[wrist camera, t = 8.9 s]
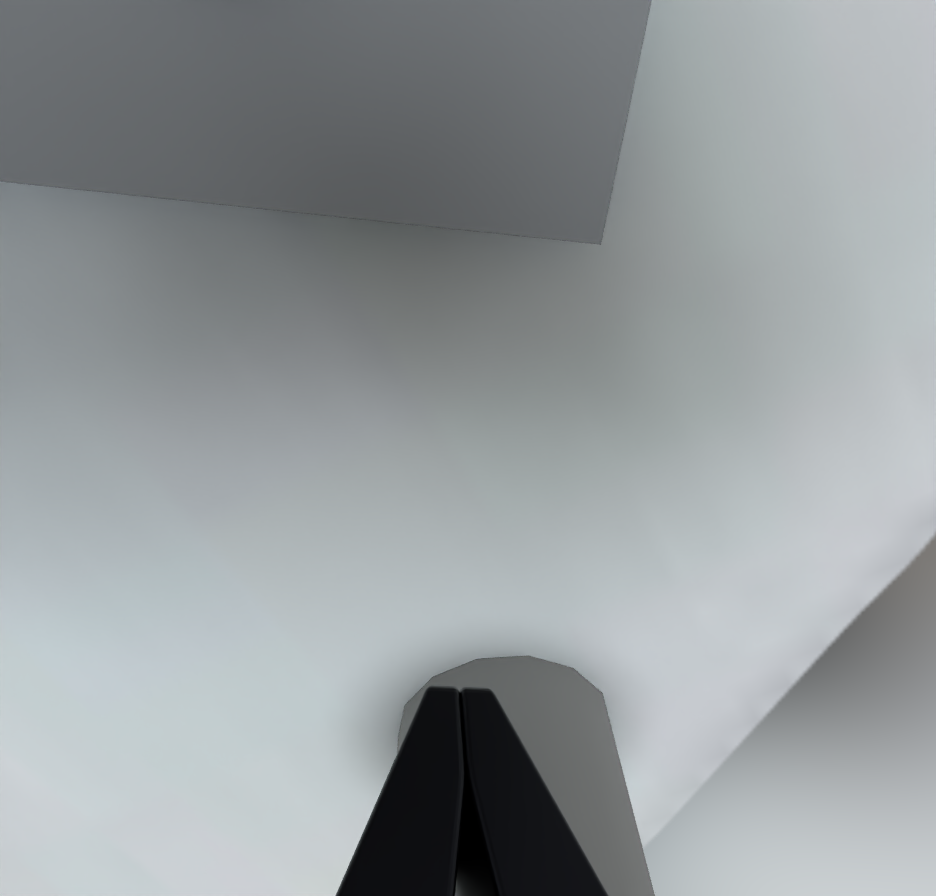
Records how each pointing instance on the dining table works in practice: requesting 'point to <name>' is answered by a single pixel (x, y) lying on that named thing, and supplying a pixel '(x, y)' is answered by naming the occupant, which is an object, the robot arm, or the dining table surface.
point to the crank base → (329, 106)
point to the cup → (565, 756)
